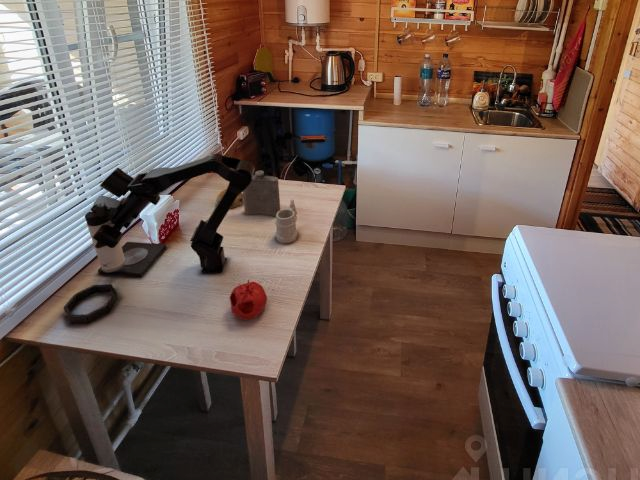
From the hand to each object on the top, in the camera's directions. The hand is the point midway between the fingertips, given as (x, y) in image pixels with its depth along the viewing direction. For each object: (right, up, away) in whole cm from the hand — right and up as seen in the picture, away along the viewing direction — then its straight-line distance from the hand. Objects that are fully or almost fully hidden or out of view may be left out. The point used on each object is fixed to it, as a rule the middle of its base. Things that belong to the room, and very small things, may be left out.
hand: (101, 240), depth 113 cm
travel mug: (+1, -9, +4) cm, 10 cm away
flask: (+38, 0, +38) cm, 54 cm away
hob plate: (+3, -10, +11) cm, 15 cm away
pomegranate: (+46, -17, -7) cm, 50 cm away
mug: (+51, -5, +25) cm, 57 cm away
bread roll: (+23, +2, +44) cm, 50 cm away
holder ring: (+2, -17, -6) cm, 18 cm away
